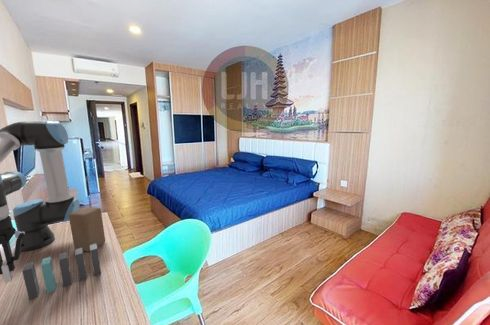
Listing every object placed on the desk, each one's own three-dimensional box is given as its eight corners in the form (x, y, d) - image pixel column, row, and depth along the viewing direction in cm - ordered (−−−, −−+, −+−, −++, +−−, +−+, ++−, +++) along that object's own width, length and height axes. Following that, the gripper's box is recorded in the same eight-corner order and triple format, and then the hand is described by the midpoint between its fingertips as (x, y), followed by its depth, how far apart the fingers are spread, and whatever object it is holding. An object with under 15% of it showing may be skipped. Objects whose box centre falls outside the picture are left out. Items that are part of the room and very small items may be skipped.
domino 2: (48, 285, 87) (42, 258, 85) (56, 282, 88) (50, 256, 86) (47, 293, 83) (40, 265, 81) (55, 290, 85) (49, 262, 82)
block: (90, 252, 109) (84, 215, 105) (73, 250, 111) (67, 213, 107) (106, 241, 118) (101, 207, 114) (91, 240, 120) (85, 206, 116)
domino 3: (64, 280, 90) (59, 254, 88) (71, 277, 91) (67, 251, 89) (63, 287, 86) (58, 260, 84) (71, 284, 88) (66, 257, 85)
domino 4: (79, 274, 93) (74, 249, 91) (86, 272, 94) (82, 247, 92) (79, 281, 89) (74, 255, 87) (87, 278, 91) (82, 252, 88)
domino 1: (30, 291, 84) (24, 264, 82) (39, 288, 85) (33, 261, 83) (28, 300, 80) (22, 271, 78) (38, 296, 82) (31, 268, 79)
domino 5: (93, 269, 96) (89, 245, 94) (100, 267, 98) (96, 243, 95) (94, 276, 92) (90, 250, 90) (101, 273, 94) (97, 248, 91)
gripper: (-42, 229, 66) (-23, 295, 71) (19, 217, 74) (32, 277, 79) (-32, 220, 72) (-15, 282, 77) (23, 210, 80) (35, 267, 85)
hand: (9, 279), depth 78 cm, fingers closed
